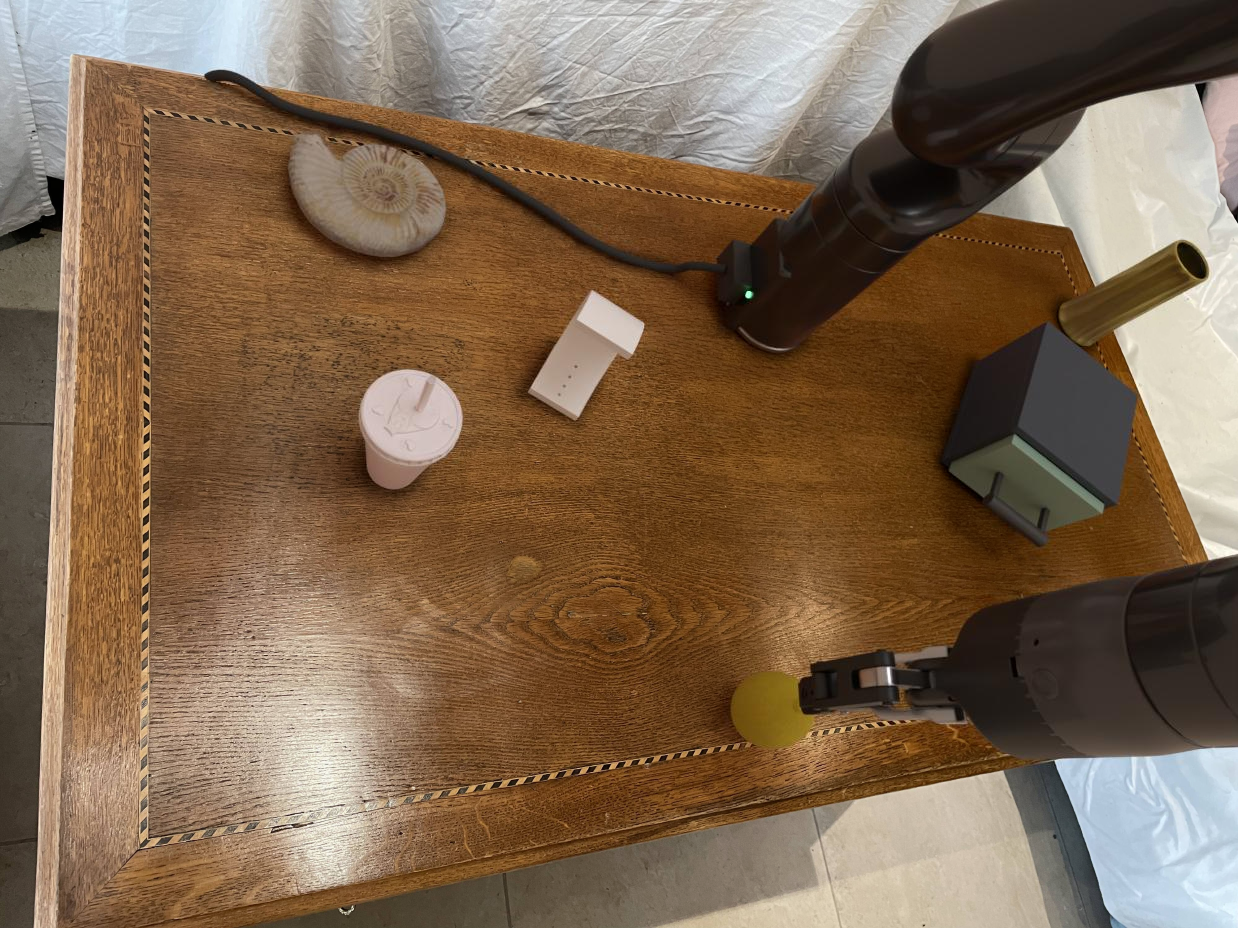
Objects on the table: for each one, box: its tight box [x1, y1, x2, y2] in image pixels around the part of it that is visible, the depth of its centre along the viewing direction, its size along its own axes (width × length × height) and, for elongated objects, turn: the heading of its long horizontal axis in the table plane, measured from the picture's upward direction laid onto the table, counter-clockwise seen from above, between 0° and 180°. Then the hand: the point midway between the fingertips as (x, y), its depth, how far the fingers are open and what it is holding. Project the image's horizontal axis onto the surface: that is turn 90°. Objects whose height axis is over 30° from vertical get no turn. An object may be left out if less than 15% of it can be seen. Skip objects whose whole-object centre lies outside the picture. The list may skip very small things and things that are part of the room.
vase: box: [1057, 238, 1210, 347], centre depth 91 cm, size 6×6×14 cm
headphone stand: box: [527, 289, 645, 422], centre depth 61 cm, size 5×6×12 cm
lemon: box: [730, 670, 816, 750], centre depth 58 cm, size 6×6×8 cm
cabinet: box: [940, 320, 1139, 510], centre depth 80 cm, size 15×13×10 cm
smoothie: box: [358, 369, 463, 490], centre depth 52 cm, size 6×6×14 cm
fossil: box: [287, 130, 447, 258], centre depth 63 cm, size 12×5×10 cm
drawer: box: [948, 434, 1104, 548], centre depth 78 cm, size 18×11×8 cm, turn 151°
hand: (861, 700), depth 50 cm, fingers open, 8 cm apart
